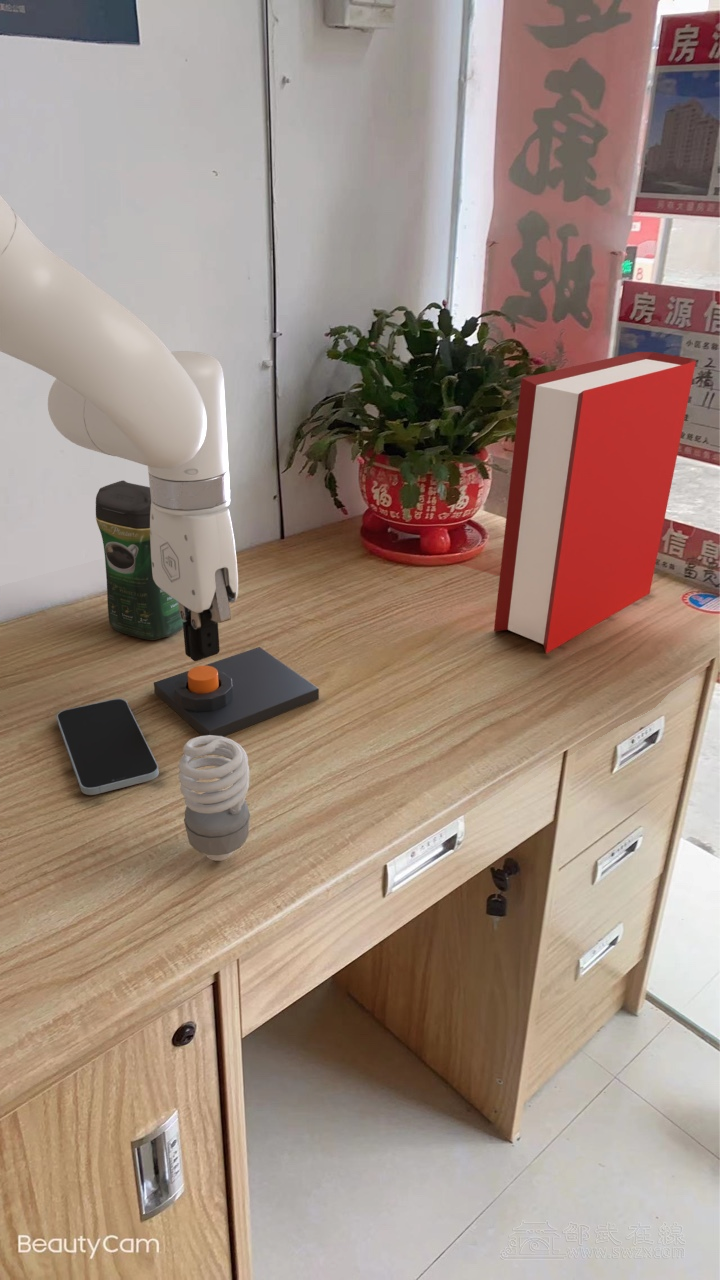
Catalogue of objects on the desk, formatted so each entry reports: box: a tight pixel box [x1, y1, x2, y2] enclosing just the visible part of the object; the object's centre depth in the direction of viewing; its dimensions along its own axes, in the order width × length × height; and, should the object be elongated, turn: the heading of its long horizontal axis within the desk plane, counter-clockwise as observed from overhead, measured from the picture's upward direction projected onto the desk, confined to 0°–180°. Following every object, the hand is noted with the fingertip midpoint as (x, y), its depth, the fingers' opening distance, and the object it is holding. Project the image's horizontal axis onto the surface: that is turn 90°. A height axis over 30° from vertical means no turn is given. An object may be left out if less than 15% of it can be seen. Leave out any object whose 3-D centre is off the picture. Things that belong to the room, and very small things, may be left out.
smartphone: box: [56, 698, 160, 796], centre depth 89 cm, size 7×1×15 cm
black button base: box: [153, 646, 320, 737], centre depth 98 cm, size 14×12×3 cm
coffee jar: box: [95, 480, 187, 641], centre depth 108 cm, size 10×8×19 cm
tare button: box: [187, 665, 219, 694], centre depth 94 cm, size 3×3×2 cm
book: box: [493, 351, 697, 654], centre depth 112 cm, size 27×8×32 cm, turn 135°
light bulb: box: [178, 735, 251, 862], centre depth 73 cm, size 6×6×12 cm
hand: (202, 654), depth 93 cm, fingers closed
